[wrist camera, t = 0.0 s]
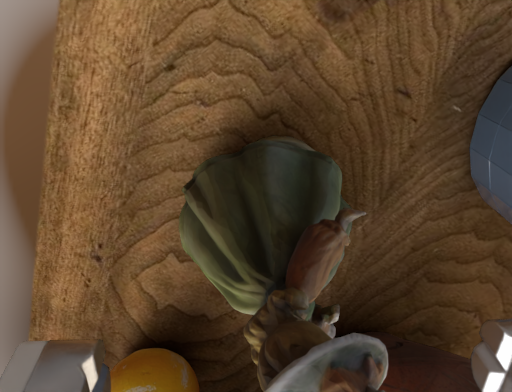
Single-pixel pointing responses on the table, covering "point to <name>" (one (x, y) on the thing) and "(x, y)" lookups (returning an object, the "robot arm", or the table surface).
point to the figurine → (281, 261)
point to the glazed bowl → (494, 148)
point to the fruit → (153, 373)
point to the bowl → (423, 368)
